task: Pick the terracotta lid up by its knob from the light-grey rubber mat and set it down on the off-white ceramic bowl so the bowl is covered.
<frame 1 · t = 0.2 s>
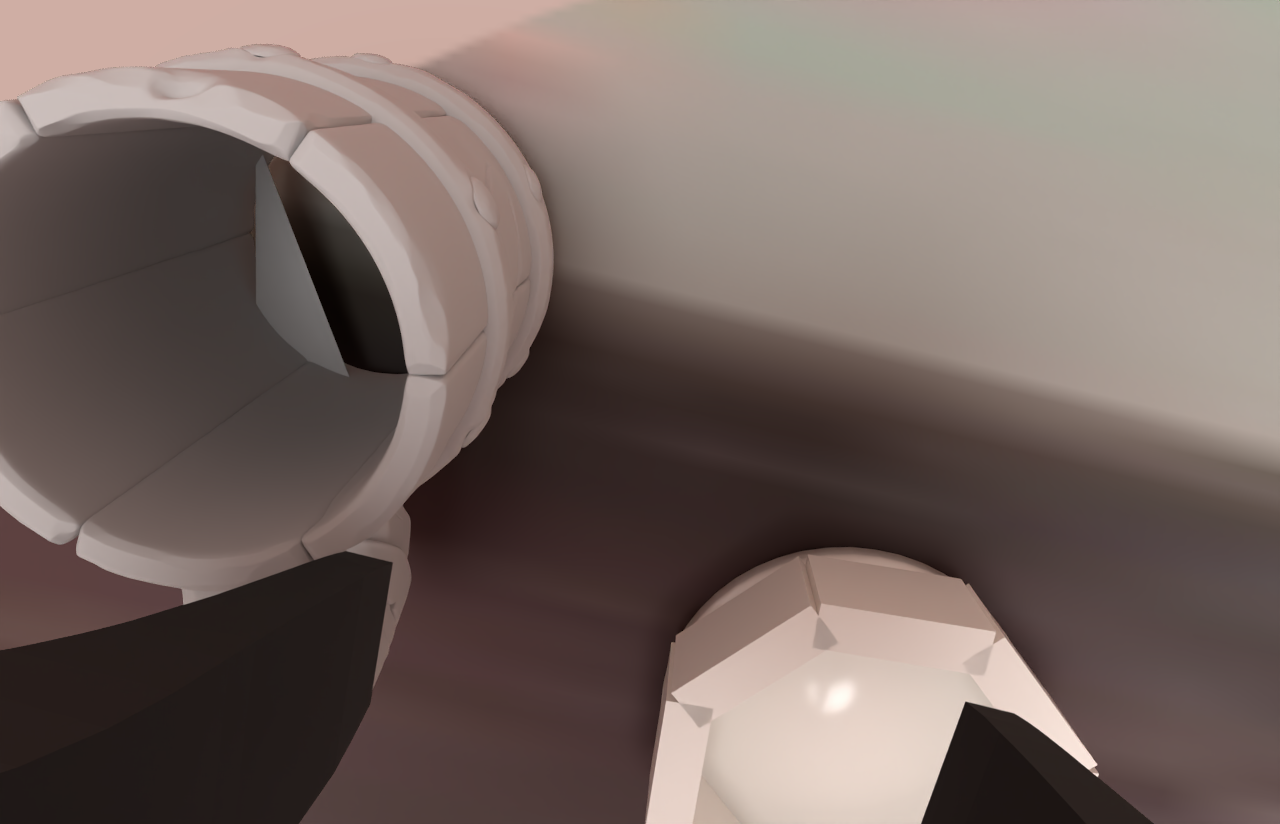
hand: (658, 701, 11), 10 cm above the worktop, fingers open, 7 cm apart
mug: (395, 331, 20), on the worktop, touching gripper
bowl: (839, 713, 22), on the worktop
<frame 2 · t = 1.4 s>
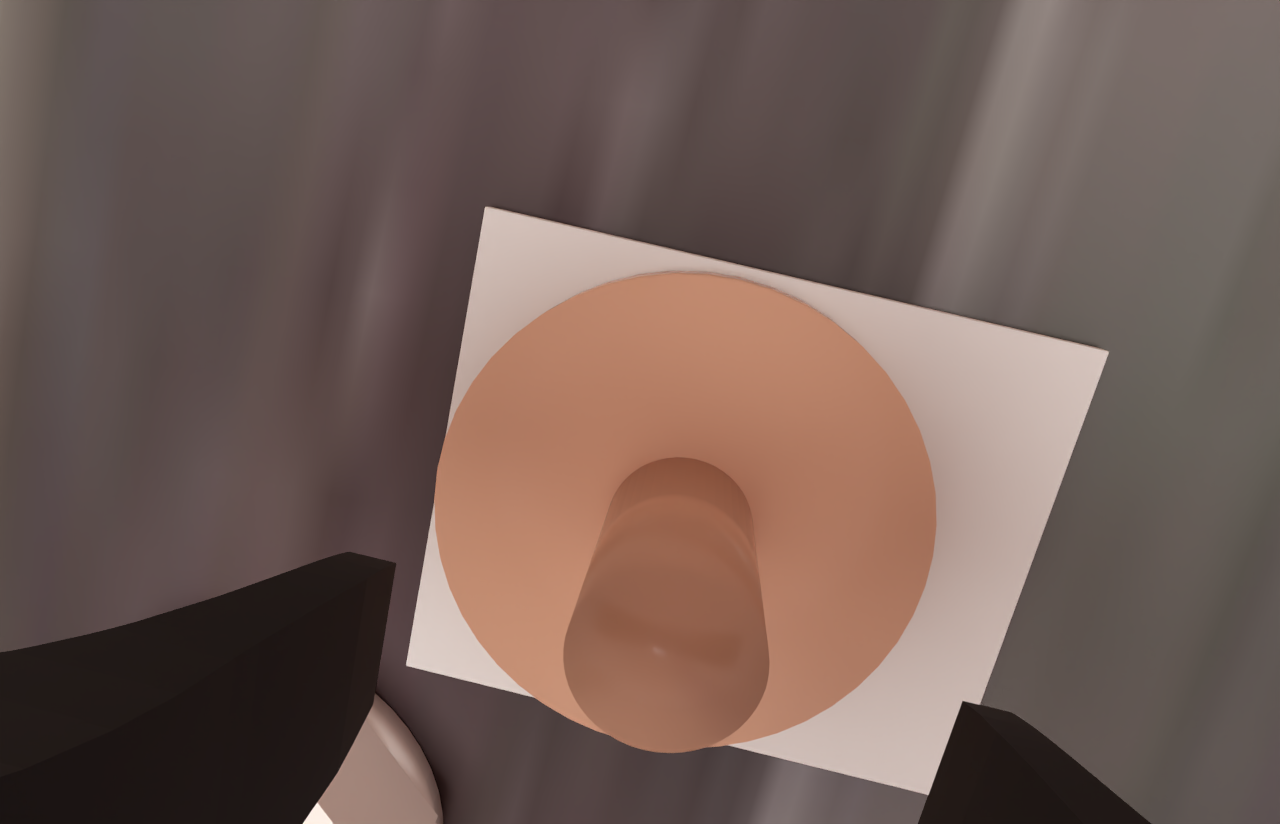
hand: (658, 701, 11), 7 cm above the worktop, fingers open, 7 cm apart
lid: (681, 509, 17), resting on mat
mat: (729, 514, 18), on the worktop
bowl: (258, 809, 21), on the worktop
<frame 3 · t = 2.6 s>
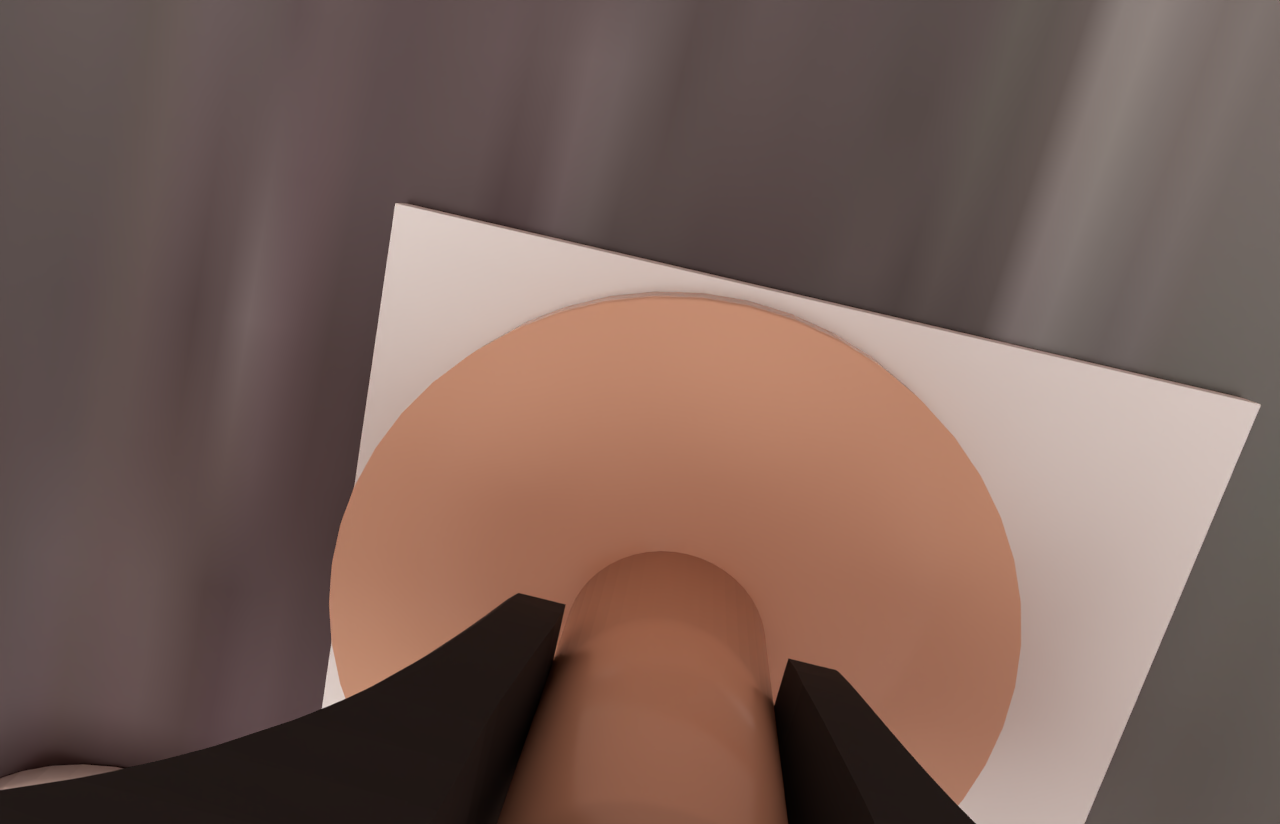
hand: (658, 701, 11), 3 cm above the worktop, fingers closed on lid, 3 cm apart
lid: (667, 611, 13), resting on mat, touching gripper
mat: (732, 614, 13), on the worktop
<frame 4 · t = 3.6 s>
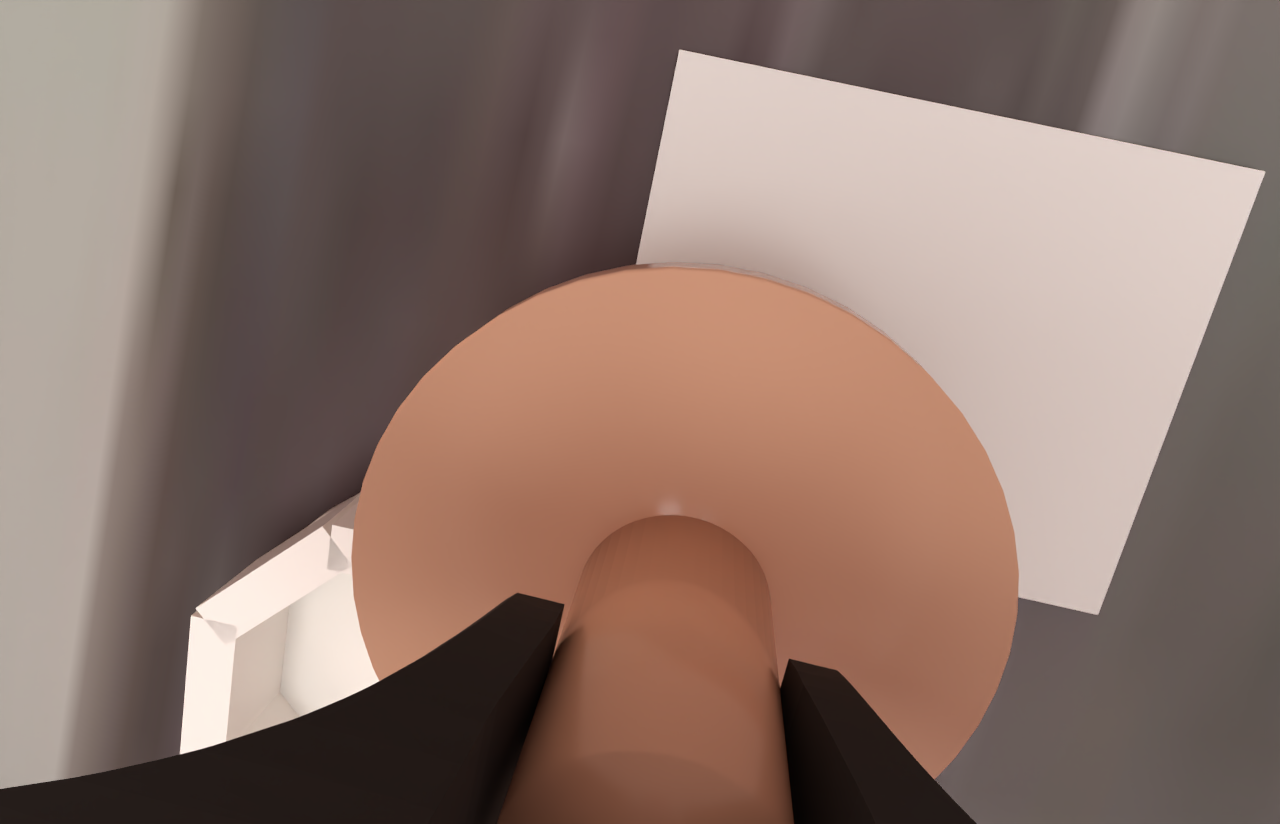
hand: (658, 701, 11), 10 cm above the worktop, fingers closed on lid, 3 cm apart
lid: (676, 572, 13), point 7 cm above the worktop, touching gripper
mat: (897, 345, 19), on the worktop
bowl: (437, 651, 22), on the worktop
when the fingers open (7 cm above the worktop, at t = 4.7 s): lid stays where it is, resting on bowl.
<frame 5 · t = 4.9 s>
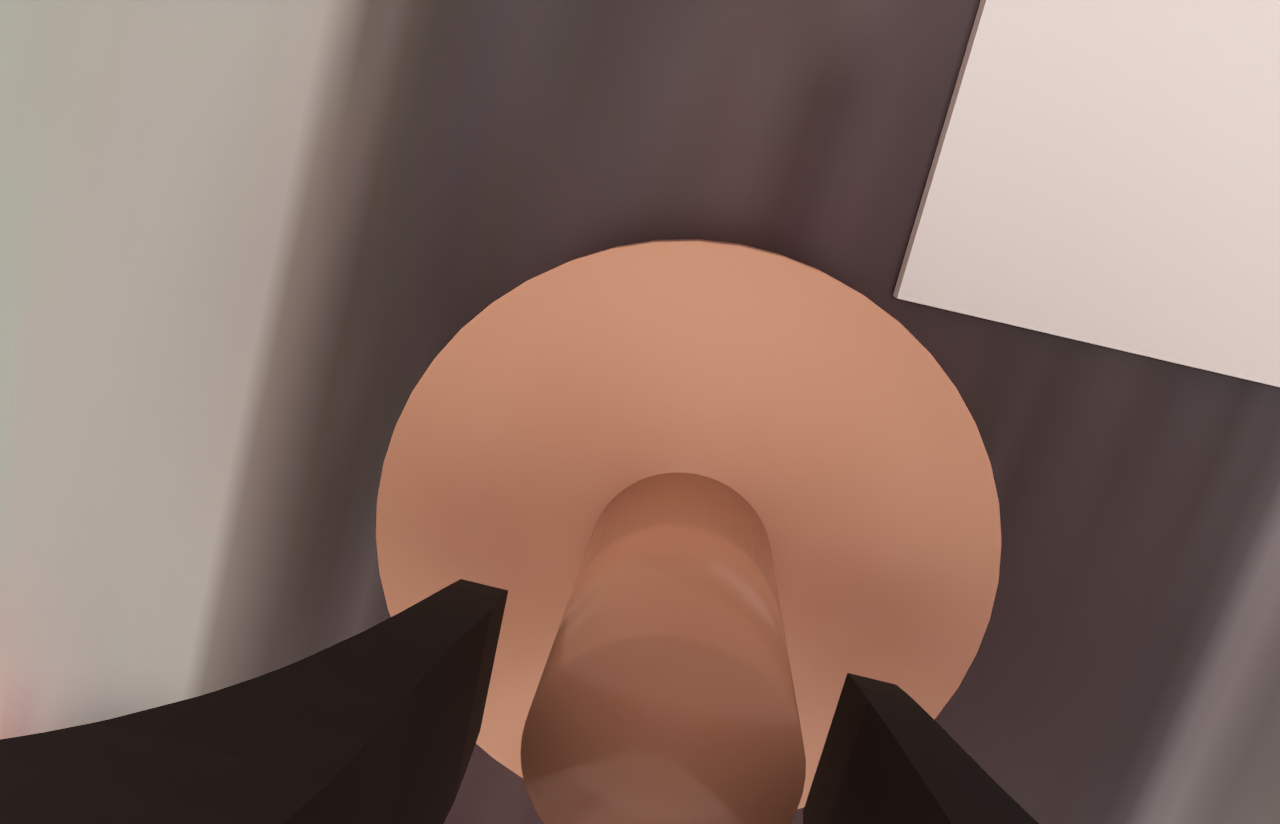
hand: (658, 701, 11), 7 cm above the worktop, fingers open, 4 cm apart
lid: (681, 534, 14), point 3 cm above the worktop, touching bowl
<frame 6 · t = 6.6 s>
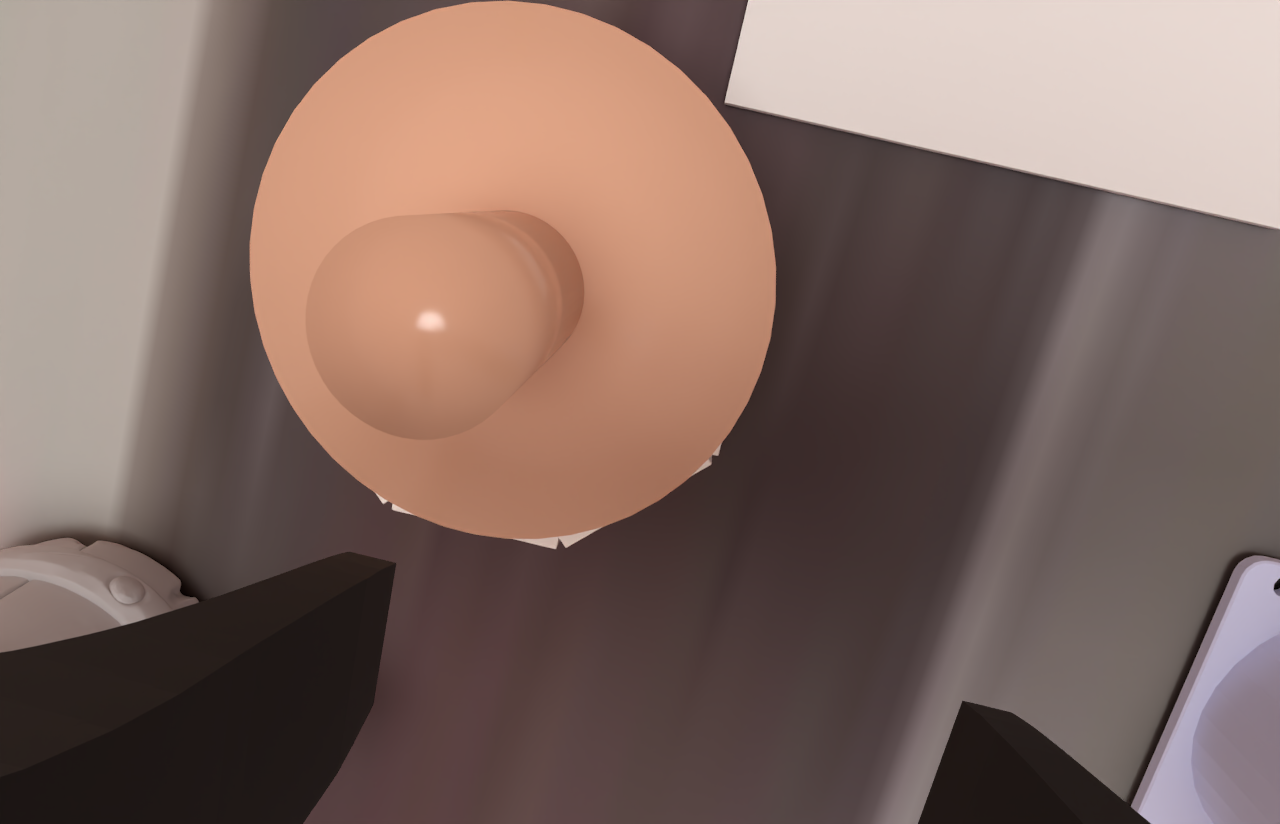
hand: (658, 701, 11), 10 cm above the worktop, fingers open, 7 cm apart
mug: (178, 660, 23), on the worktop
lid: (519, 284, 16), point 3 cm above the worktop, touching bowl
bowl: (546, 297, 20), on the worktop
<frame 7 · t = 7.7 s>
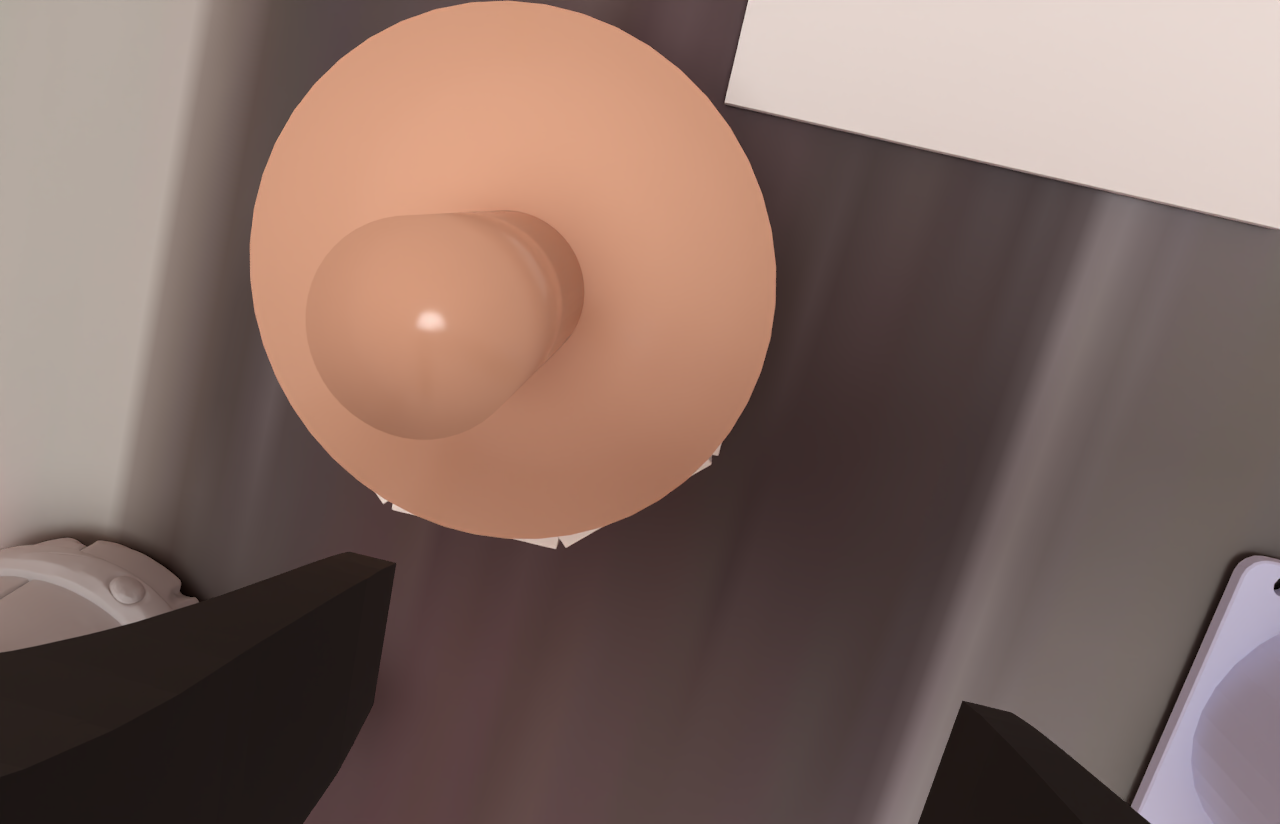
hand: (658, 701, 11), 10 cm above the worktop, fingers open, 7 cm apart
mug: (178, 660, 23), on the worktop
lid: (519, 284, 16), point 3 cm above the worktop, touching bowl
bowl: (546, 297, 20), on the worktop
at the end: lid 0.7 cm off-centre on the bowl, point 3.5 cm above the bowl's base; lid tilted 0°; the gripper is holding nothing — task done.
